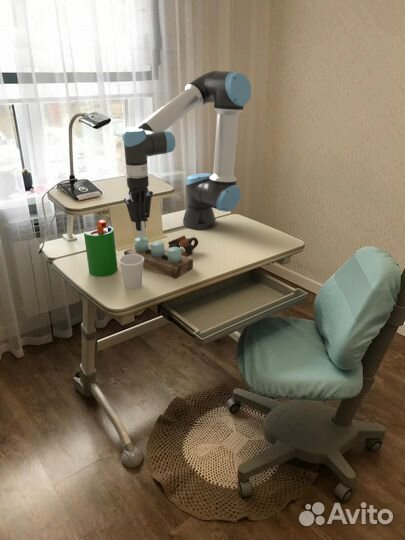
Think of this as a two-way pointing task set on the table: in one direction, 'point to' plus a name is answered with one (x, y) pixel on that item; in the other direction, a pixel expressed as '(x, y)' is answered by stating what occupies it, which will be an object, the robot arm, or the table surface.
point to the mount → (163, 263)
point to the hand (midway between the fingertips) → (141, 237)
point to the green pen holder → (101, 251)
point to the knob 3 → (174, 254)
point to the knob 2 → (157, 249)
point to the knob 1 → (141, 244)
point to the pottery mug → (184, 244)
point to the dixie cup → (132, 270)
